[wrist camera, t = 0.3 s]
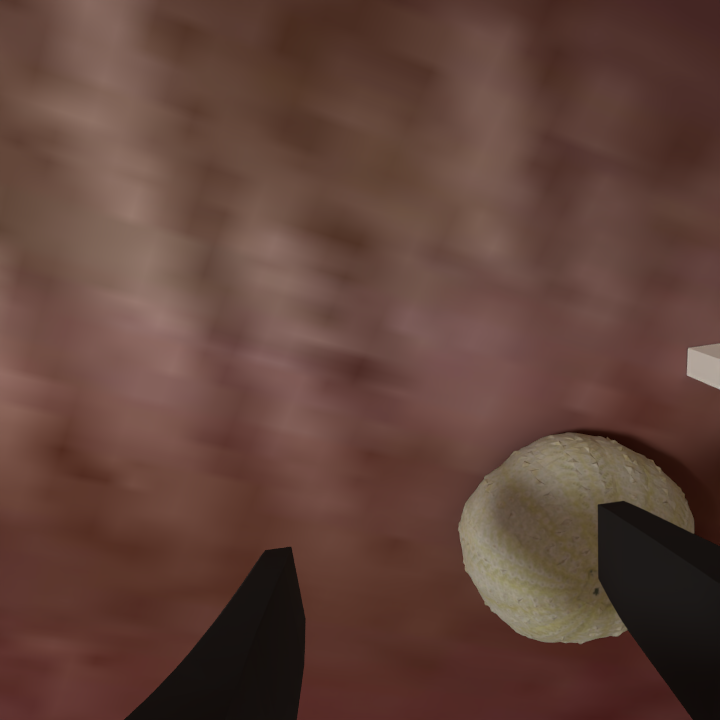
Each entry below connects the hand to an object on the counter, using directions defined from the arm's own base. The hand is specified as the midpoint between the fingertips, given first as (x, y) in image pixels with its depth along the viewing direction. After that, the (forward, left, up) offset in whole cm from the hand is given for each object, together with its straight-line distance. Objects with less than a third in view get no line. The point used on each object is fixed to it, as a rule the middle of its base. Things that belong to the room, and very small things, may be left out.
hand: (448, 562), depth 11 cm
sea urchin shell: (-6, -6, -10) cm, 13 cm away
